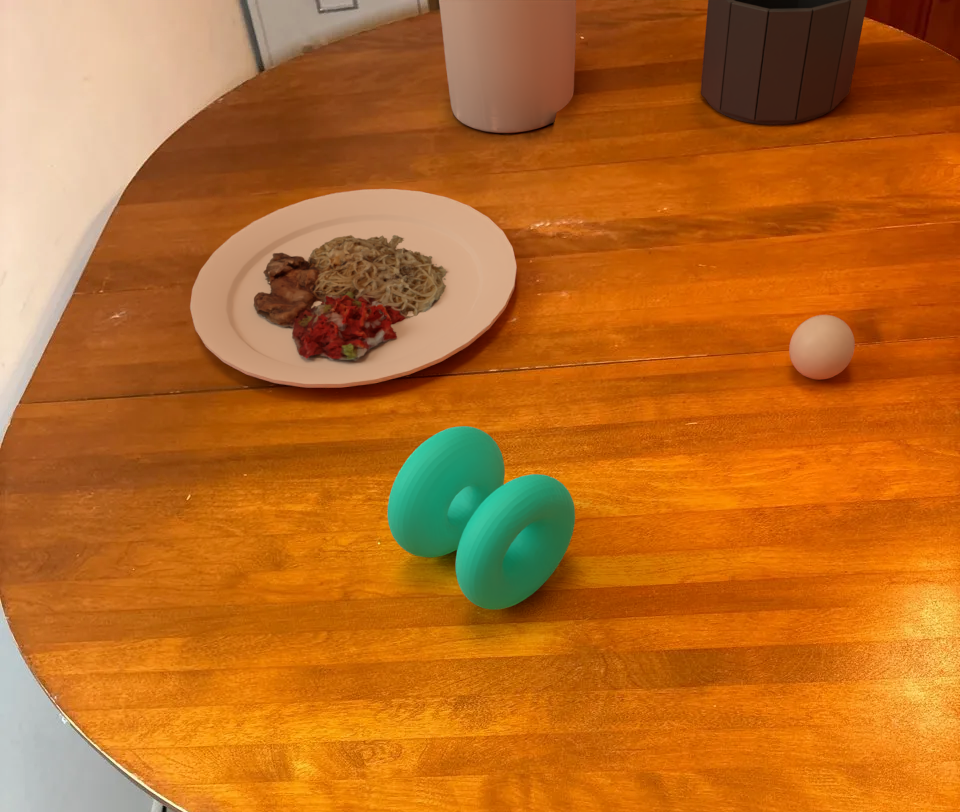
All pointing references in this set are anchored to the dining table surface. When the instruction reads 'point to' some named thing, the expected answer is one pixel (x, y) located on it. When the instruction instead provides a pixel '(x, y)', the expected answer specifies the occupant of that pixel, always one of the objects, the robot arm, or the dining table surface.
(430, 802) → the dining table surface
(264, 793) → the dining table surface
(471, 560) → the teal spool
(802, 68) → the bin
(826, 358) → the pale pink ball
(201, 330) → the plated food
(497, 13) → the utensil holder
